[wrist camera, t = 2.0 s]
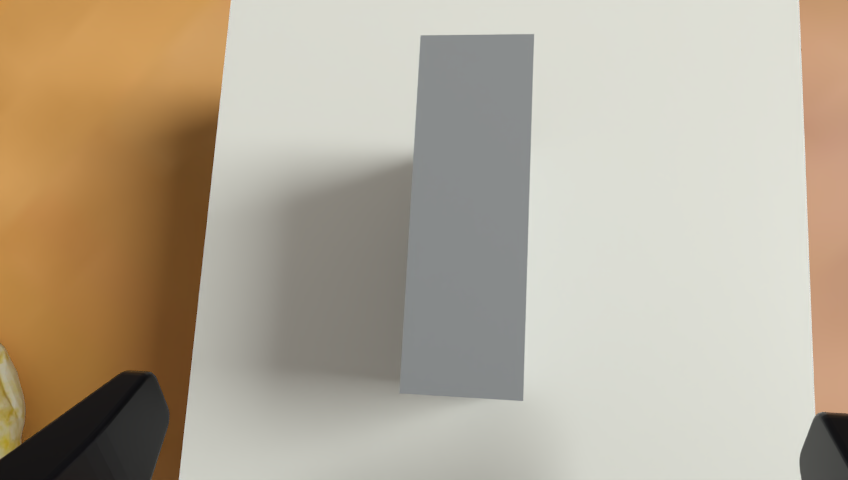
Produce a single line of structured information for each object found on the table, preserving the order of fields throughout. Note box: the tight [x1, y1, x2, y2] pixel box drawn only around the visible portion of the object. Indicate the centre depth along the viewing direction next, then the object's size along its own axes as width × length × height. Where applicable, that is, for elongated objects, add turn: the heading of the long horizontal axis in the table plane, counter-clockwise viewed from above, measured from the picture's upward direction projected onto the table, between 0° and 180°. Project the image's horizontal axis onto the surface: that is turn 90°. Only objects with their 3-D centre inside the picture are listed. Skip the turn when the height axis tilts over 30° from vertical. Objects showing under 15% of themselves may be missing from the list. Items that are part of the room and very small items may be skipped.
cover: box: [179, 0, 815, 480], centre depth 15 cm, size 13×13×11 cm
